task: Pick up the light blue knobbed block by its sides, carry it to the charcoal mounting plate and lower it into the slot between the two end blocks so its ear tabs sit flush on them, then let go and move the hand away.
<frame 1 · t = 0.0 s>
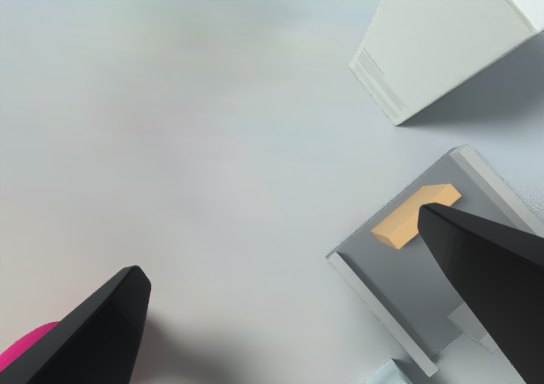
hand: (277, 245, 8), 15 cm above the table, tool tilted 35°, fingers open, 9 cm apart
pepper mill: (100, 337, 23), on the table
supplement box: (402, 75, 23), on the table
mounting plate: (433, 254, 22), on the table
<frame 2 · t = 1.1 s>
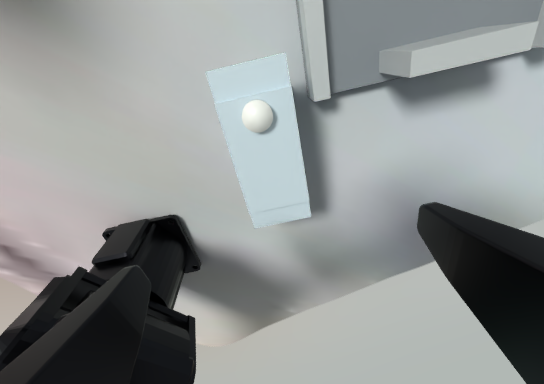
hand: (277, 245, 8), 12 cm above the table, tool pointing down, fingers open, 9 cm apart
light blue knobbed block: (264, 135, 18), on the table
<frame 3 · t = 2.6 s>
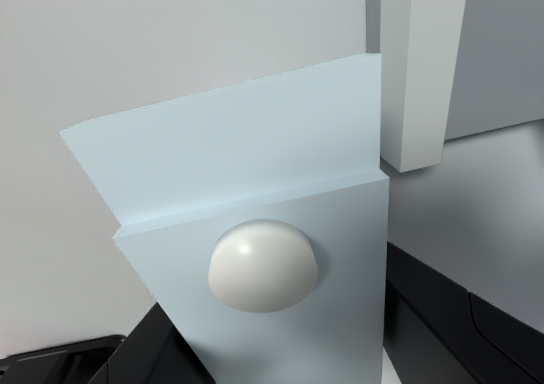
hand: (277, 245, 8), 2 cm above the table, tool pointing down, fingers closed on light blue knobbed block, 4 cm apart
light blue knobbed block: (273, 216, 9), on the table, touching gripper
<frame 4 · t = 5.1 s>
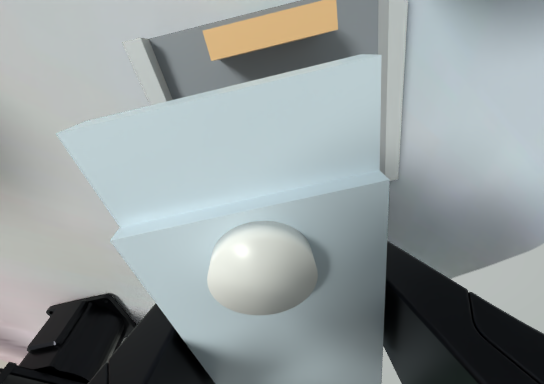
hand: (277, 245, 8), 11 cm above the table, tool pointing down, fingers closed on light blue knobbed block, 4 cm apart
mounting plate: (280, 116, 17), on the table
light blue knobbed block: (273, 217, 9), point 10 cm above the table, touching gripper
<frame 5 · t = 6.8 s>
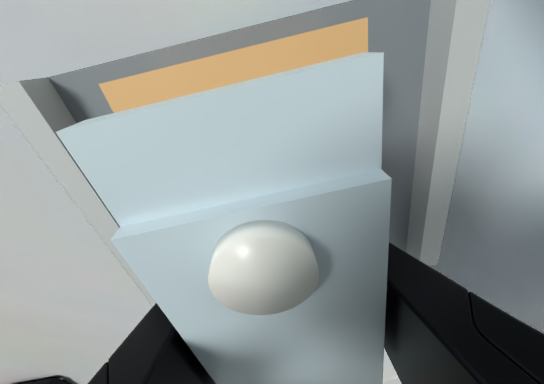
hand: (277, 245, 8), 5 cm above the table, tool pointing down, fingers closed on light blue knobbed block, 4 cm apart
mounting plate: (270, 178, 12), on the table
light blue knobbed block: (274, 217, 9), point 3 cm above the table, touching gripper
when the fingers open (3 cm above the table, at t = 7.9 s): light blue knobbed block stays where it is, resting on mounting plate.
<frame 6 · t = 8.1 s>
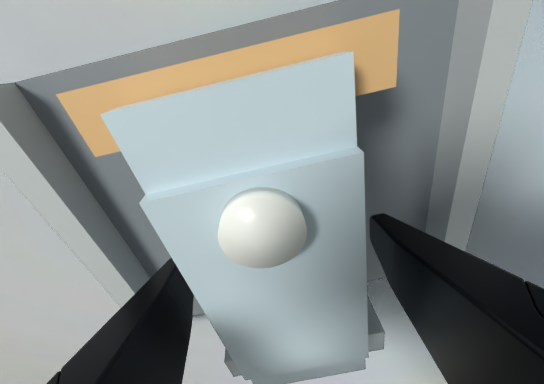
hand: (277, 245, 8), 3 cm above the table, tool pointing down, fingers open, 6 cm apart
mounting plate: (271, 192, 11), on the table
light blue knobbed block: (272, 202, 10), point 1 cm above the table, touching mounting plate
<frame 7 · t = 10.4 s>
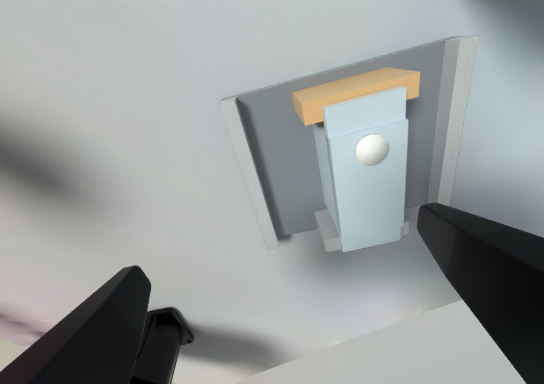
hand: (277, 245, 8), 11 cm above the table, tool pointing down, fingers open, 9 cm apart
mounting plate: (342, 153, 19), on the table
light blue knobbed block: (345, 158, 18), point 1 cm above the table, touching mounting plate
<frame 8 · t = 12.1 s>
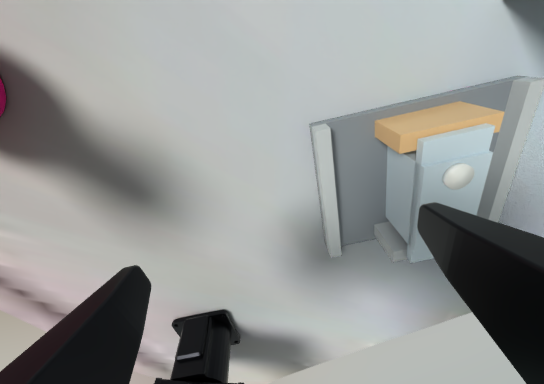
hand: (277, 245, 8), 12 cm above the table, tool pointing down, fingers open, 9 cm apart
mounting plate: (405, 173, 21), on the table
light blue knobbed block: (410, 177, 20), point 1 cm above the table, touching mounting plate
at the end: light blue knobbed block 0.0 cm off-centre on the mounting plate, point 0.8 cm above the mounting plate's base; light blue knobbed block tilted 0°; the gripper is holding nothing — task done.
